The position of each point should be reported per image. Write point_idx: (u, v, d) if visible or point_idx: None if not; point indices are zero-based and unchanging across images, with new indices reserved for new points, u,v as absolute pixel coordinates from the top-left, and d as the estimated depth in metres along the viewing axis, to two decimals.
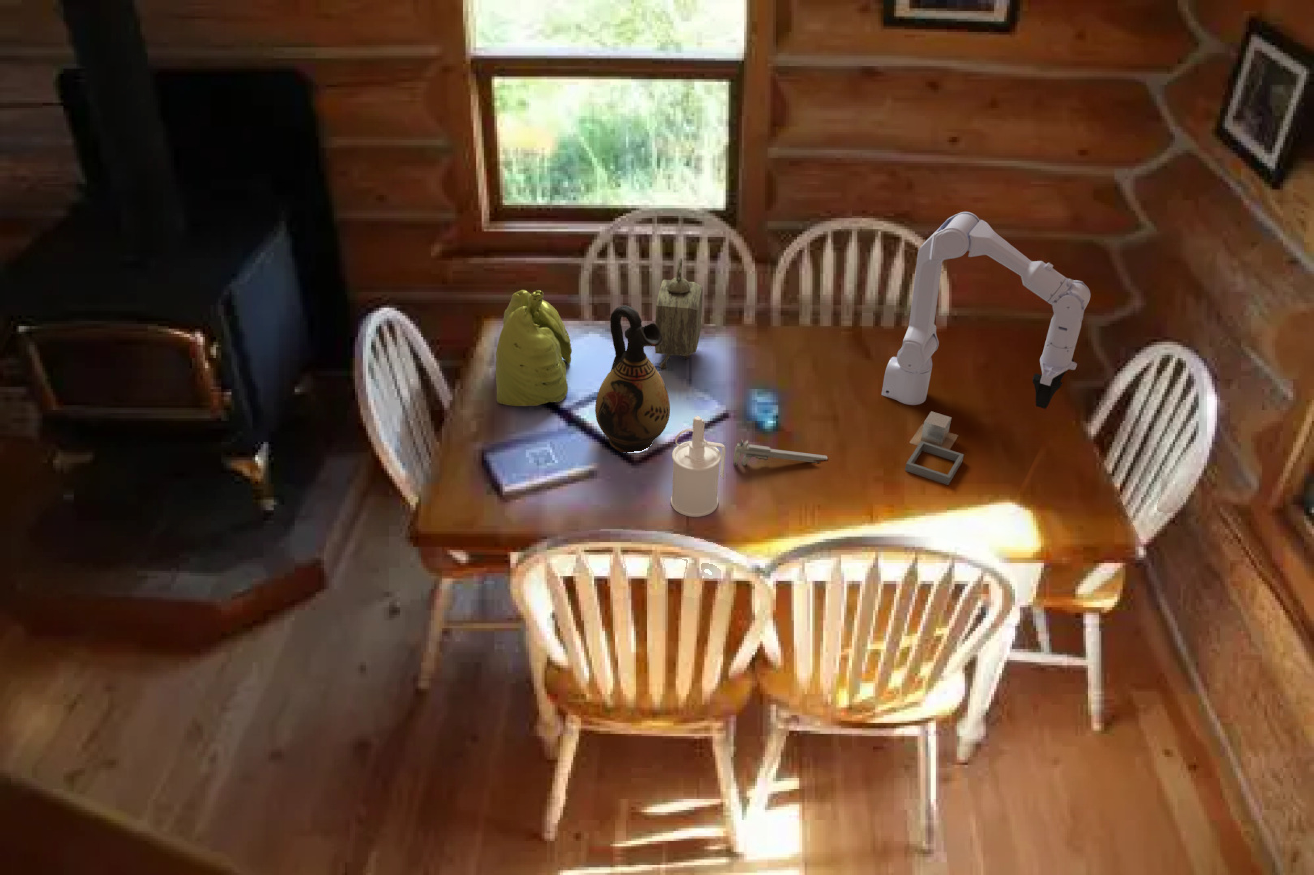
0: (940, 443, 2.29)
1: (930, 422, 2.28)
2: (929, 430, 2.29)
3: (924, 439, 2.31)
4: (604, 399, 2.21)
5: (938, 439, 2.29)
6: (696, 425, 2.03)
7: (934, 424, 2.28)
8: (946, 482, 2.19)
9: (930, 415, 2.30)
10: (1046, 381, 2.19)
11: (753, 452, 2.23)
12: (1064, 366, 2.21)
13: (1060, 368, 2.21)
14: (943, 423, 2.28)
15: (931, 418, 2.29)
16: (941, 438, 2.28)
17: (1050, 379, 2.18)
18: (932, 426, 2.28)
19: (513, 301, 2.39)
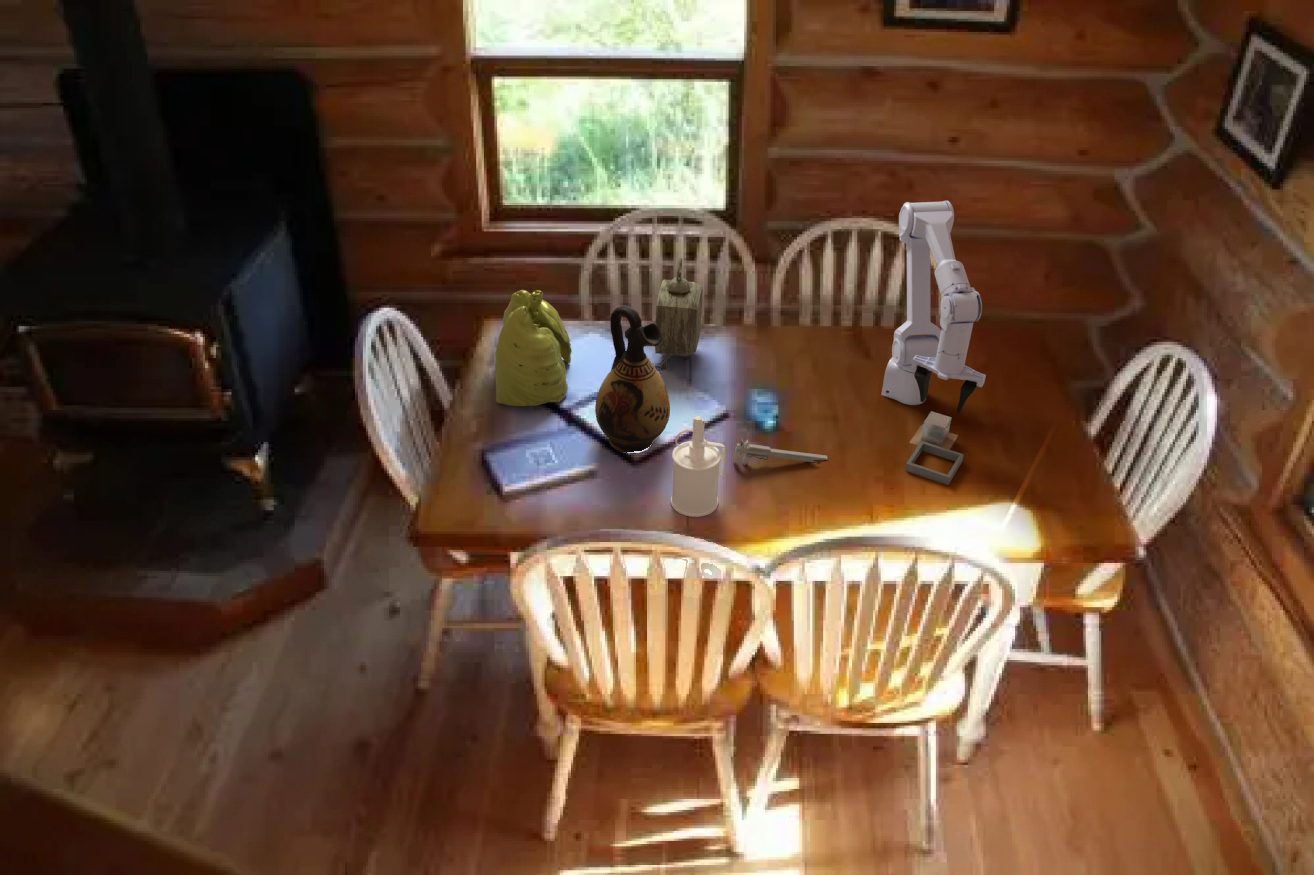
0: (940, 443, 2.29)
1: (930, 422, 2.28)
2: (929, 430, 2.29)
3: (924, 439, 2.31)
4: (604, 399, 2.21)
5: (938, 439, 2.29)
6: (696, 425, 2.03)
7: (934, 424, 2.28)
8: (946, 482, 2.19)
9: (930, 415, 2.30)
10: None
11: (753, 452, 2.23)
12: (936, 368, 2.21)
13: (933, 367, 2.22)
14: (943, 423, 2.28)
15: (931, 418, 2.29)
16: (941, 438, 2.28)
17: (912, 360, 2.24)
18: (932, 426, 2.28)
19: (513, 300, 2.39)
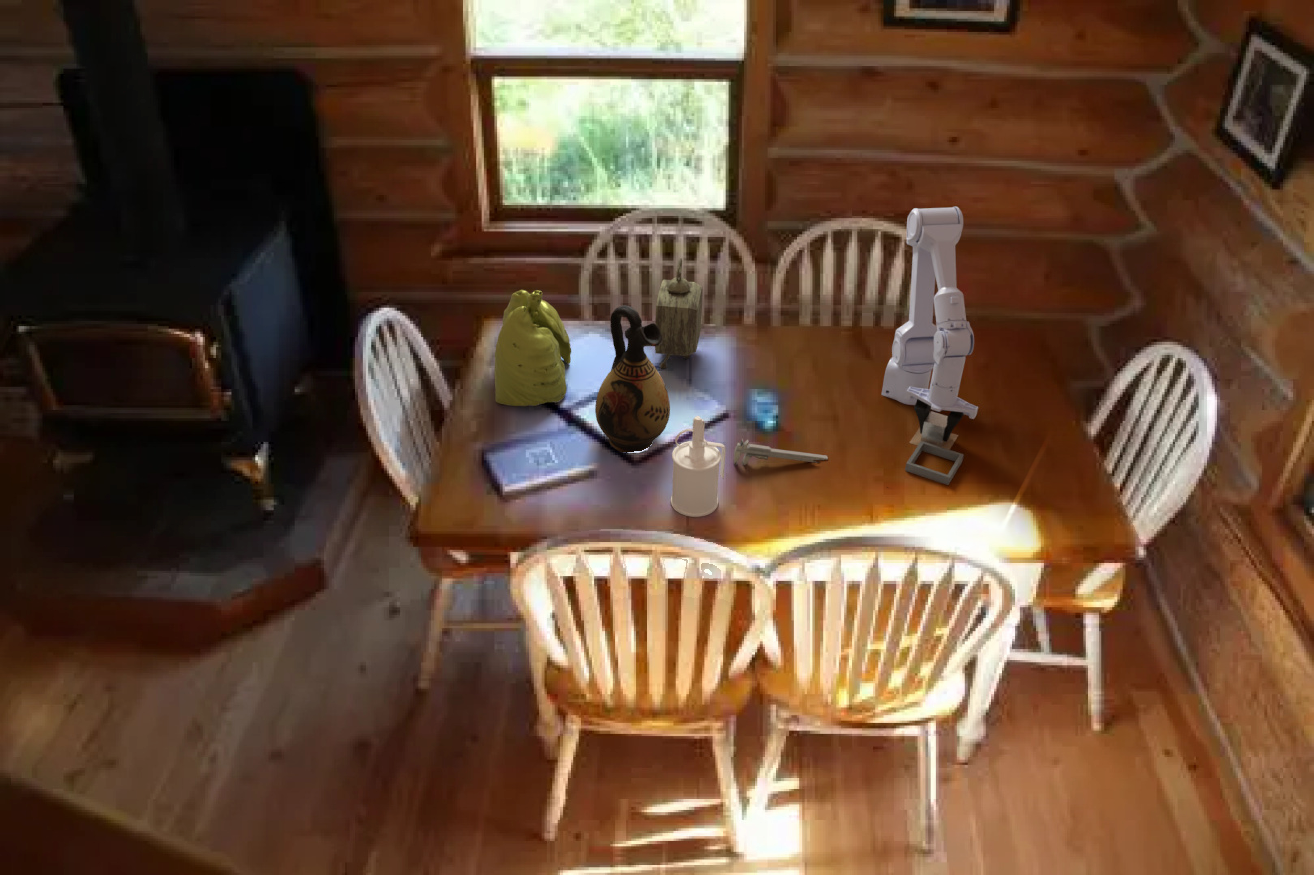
0: (940, 443, 2.29)
1: (930, 422, 2.28)
2: (929, 430, 2.29)
3: (924, 439, 2.31)
4: (604, 399, 2.21)
5: (938, 439, 2.29)
6: (696, 425, 2.03)
7: (934, 424, 2.28)
8: (946, 482, 2.19)
9: (930, 415, 2.30)
10: None
11: (753, 452, 2.23)
12: (929, 399, 2.25)
13: (927, 399, 2.26)
14: (943, 423, 2.28)
15: (931, 418, 2.29)
16: (941, 438, 2.28)
17: (906, 391, 2.29)
18: (932, 426, 2.28)
19: (512, 300, 2.39)
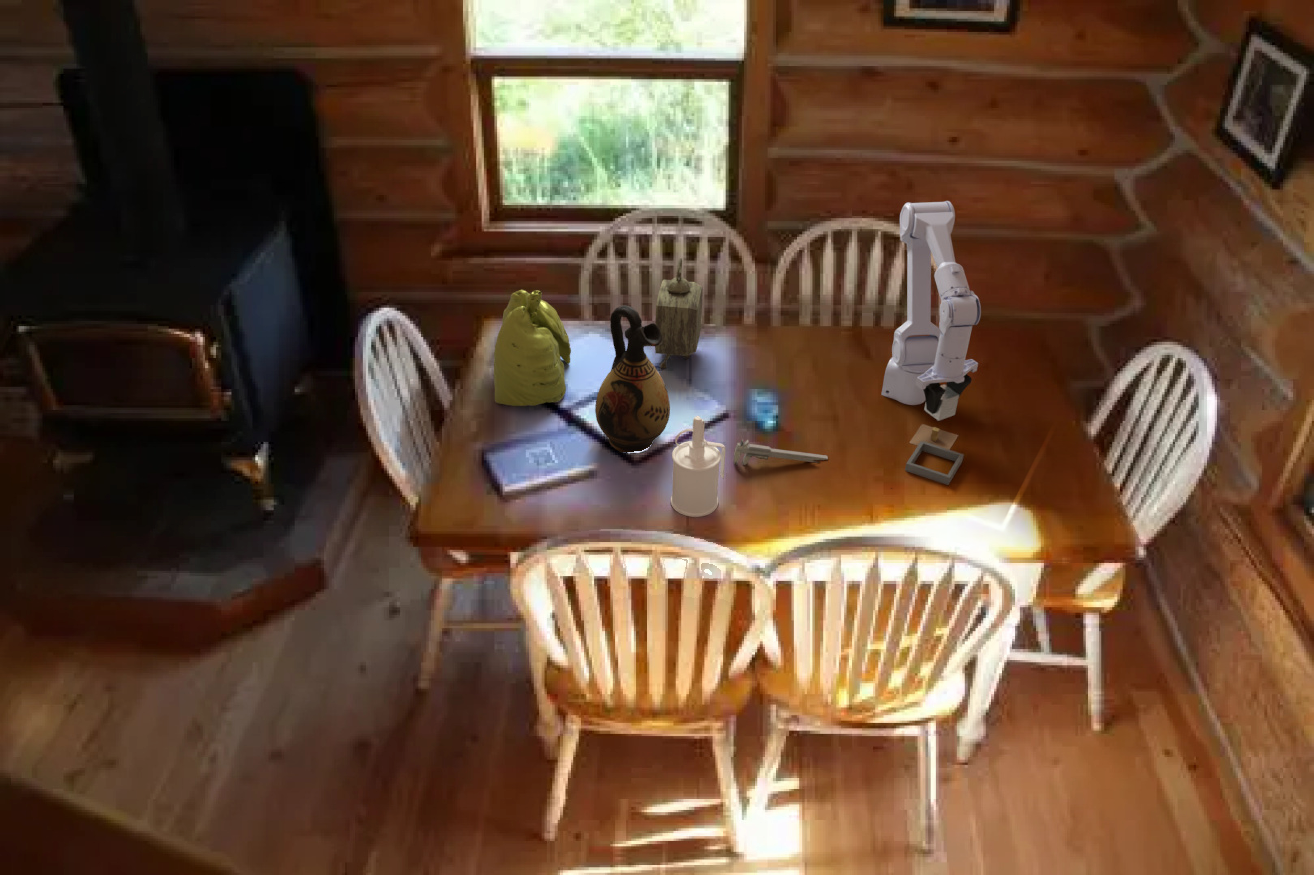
0: (954, 411, 2.27)
1: (946, 398, 2.23)
2: (946, 405, 2.24)
3: (941, 417, 2.26)
4: (604, 399, 2.21)
5: (953, 408, 2.26)
6: (696, 425, 2.03)
7: (950, 397, 2.24)
8: (946, 482, 2.19)
9: None
10: (919, 384, 2.20)
11: (753, 452, 2.23)
12: (947, 376, 2.20)
13: (943, 377, 2.20)
14: (951, 392, 2.25)
15: None
16: (955, 406, 2.26)
17: (922, 383, 2.19)
18: (949, 400, 2.24)
19: (512, 300, 2.39)
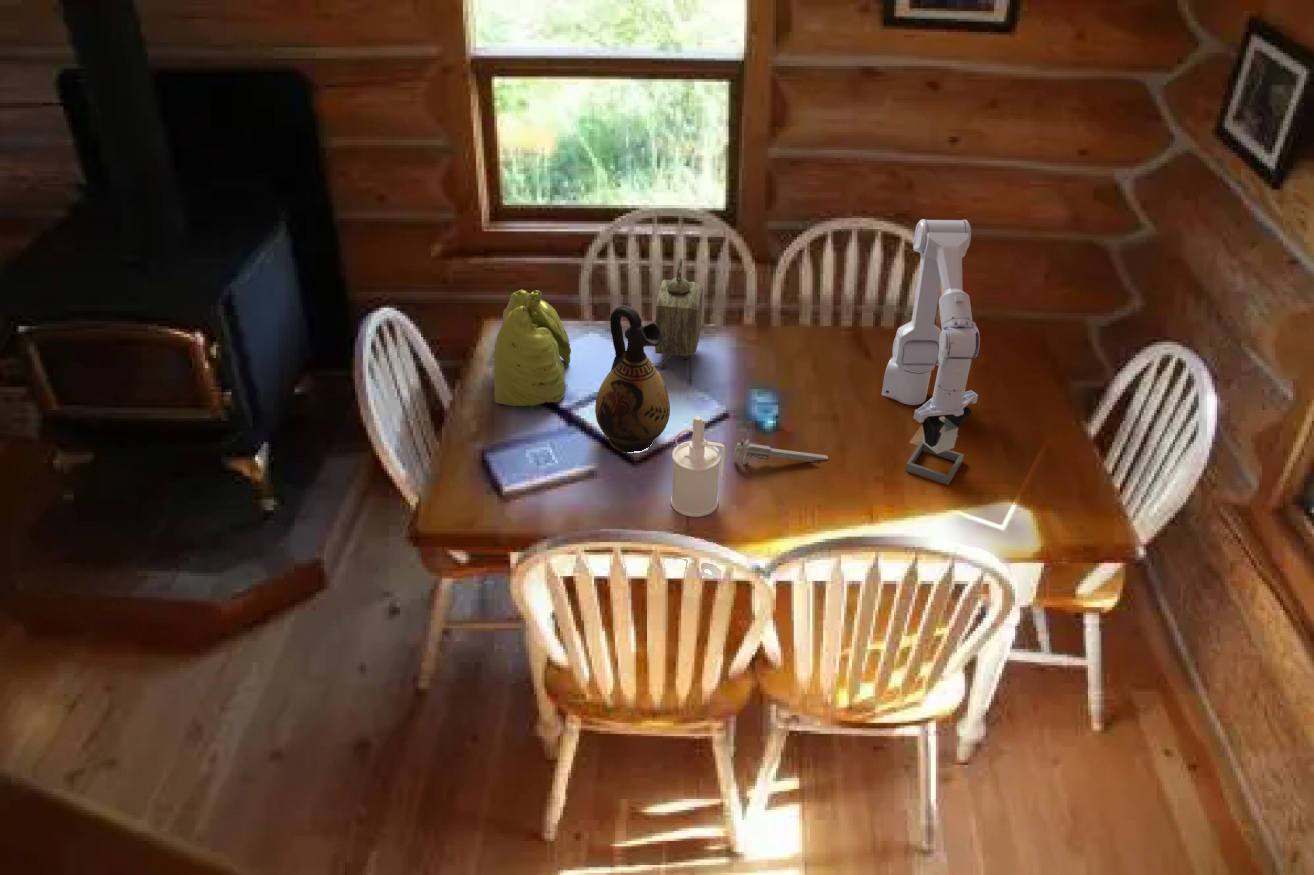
0: (953, 444, 2.20)
1: (944, 430, 2.17)
2: (945, 438, 2.18)
3: (940, 450, 2.19)
4: (604, 399, 2.21)
5: (952, 441, 2.19)
6: (696, 425, 2.03)
7: (949, 430, 2.17)
8: (946, 482, 2.19)
9: None
10: (917, 417, 2.13)
11: (753, 451, 2.23)
12: (946, 409, 2.13)
13: (941, 410, 2.13)
14: (950, 424, 2.19)
15: None
16: (955, 438, 2.19)
17: (920, 416, 2.12)
18: (948, 432, 2.17)
19: (512, 300, 2.39)
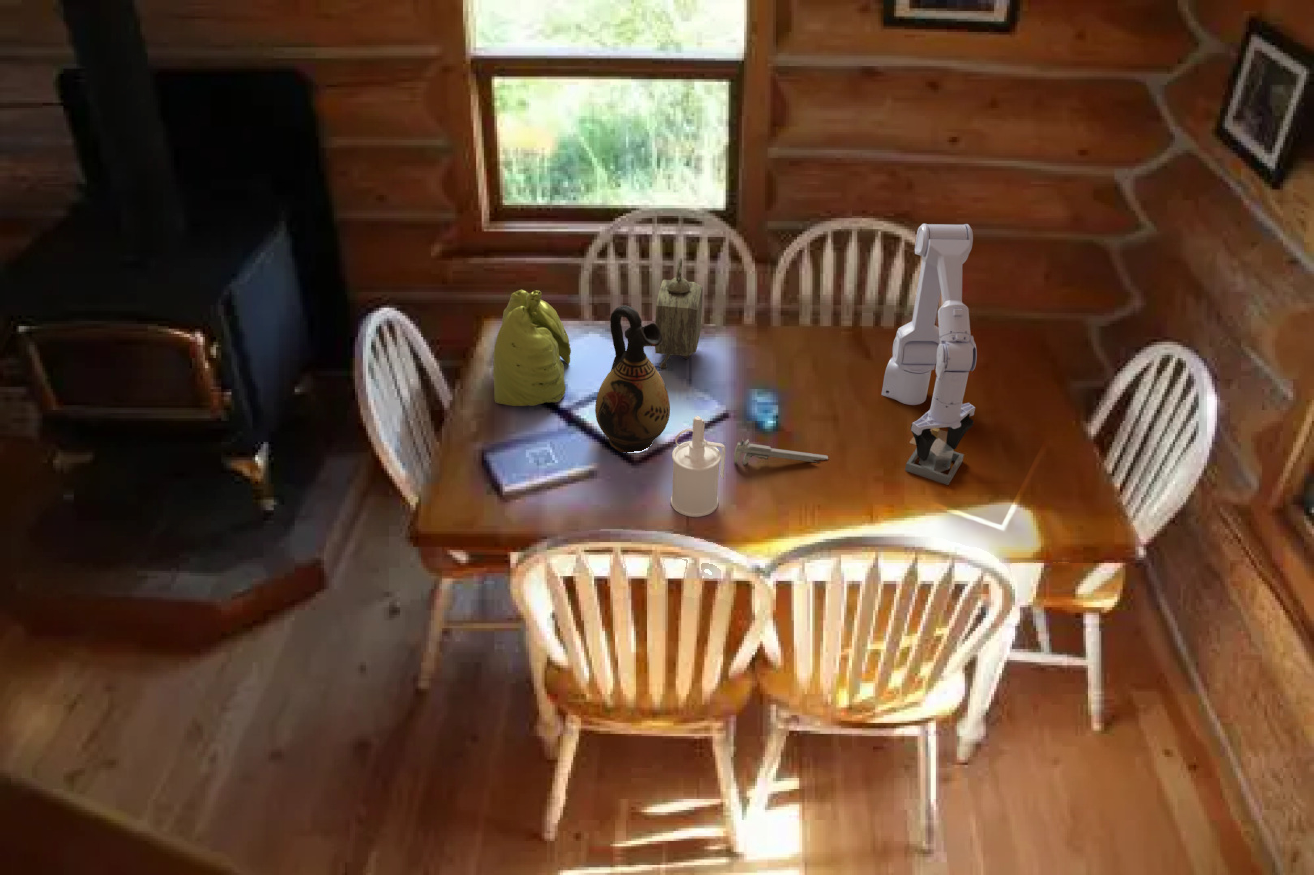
0: (949, 465, 2.23)
1: (940, 453, 2.20)
2: (940, 460, 2.21)
3: None
4: (604, 399, 2.21)
5: (947, 463, 2.23)
6: (696, 425, 2.03)
7: (944, 452, 2.20)
8: (946, 482, 2.19)
9: None
10: (915, 430, 2.15)
11: (754, 451, 2.23)
12: (944, 422, 2.15)
13: (939, 423, 2.15)
14: (946, 446, 2.22)
15: (934, 449, 2.21)
16: (950, 460, 2.23)
17: (918, 429, 2.14)
18: (943, 455, 2.20)
19: (512, 300, 2.39)
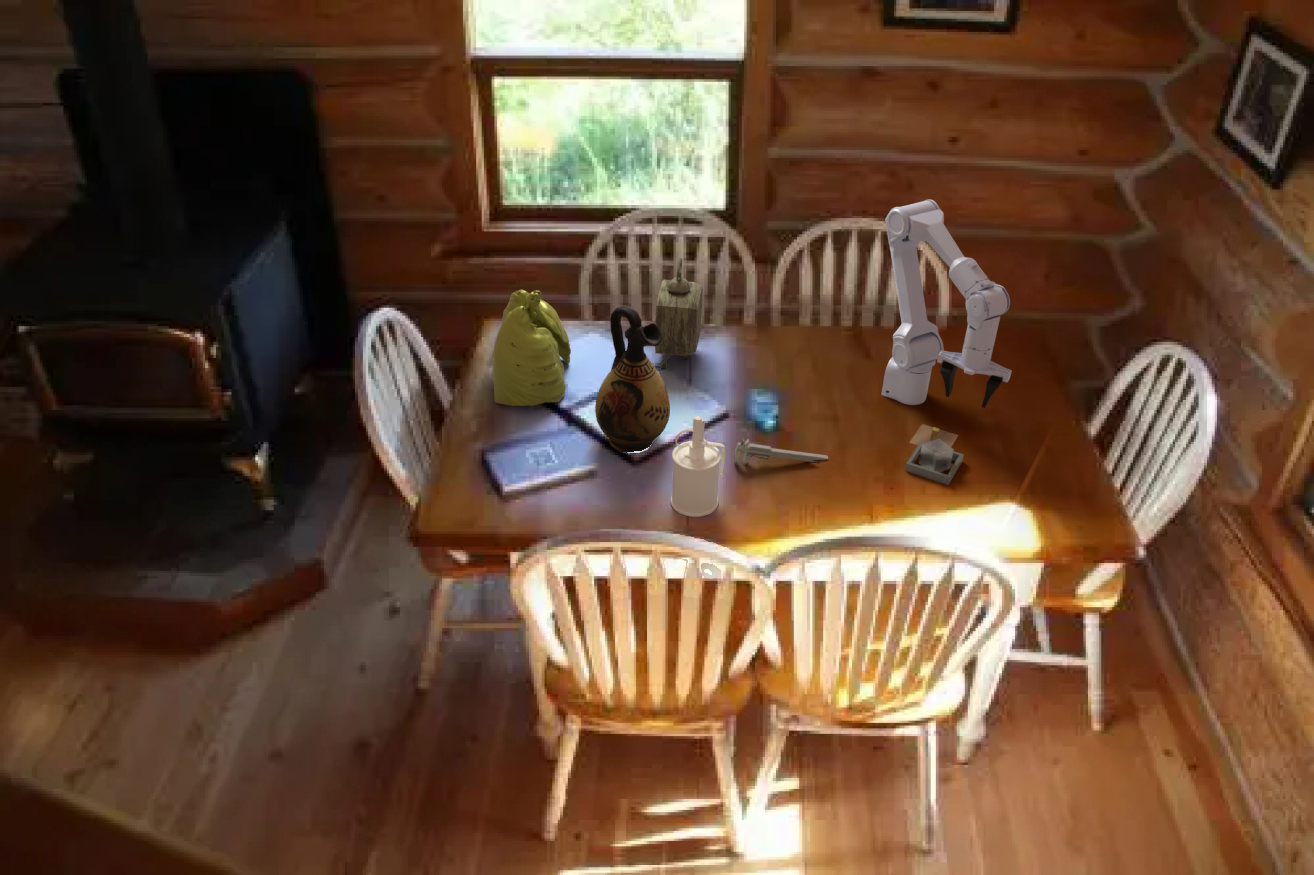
0: (949, 465, 2.23)
1: (940, 453, 2.20)
2: (940, 460, 2.21)
3: None
4: (604, 399, 2.21)
5: (947, 463, 2.23)
6: (696, 425, 2.03)
7: (944, 452, 2.20)
8: (946, 482, 2.19)
9: (928, 447, 2.21)
10: None
11: (754, 451, 2.23)
12: (962, 363, 2.23)
13: (959, 362, 2.23)
14: (946, 446, 2.22)
15: (934, 449, 2.21)
16: (950, 460, 2.23)
17: None
18: (943, 455, 2.20)
19: (512, 300, 2.39)
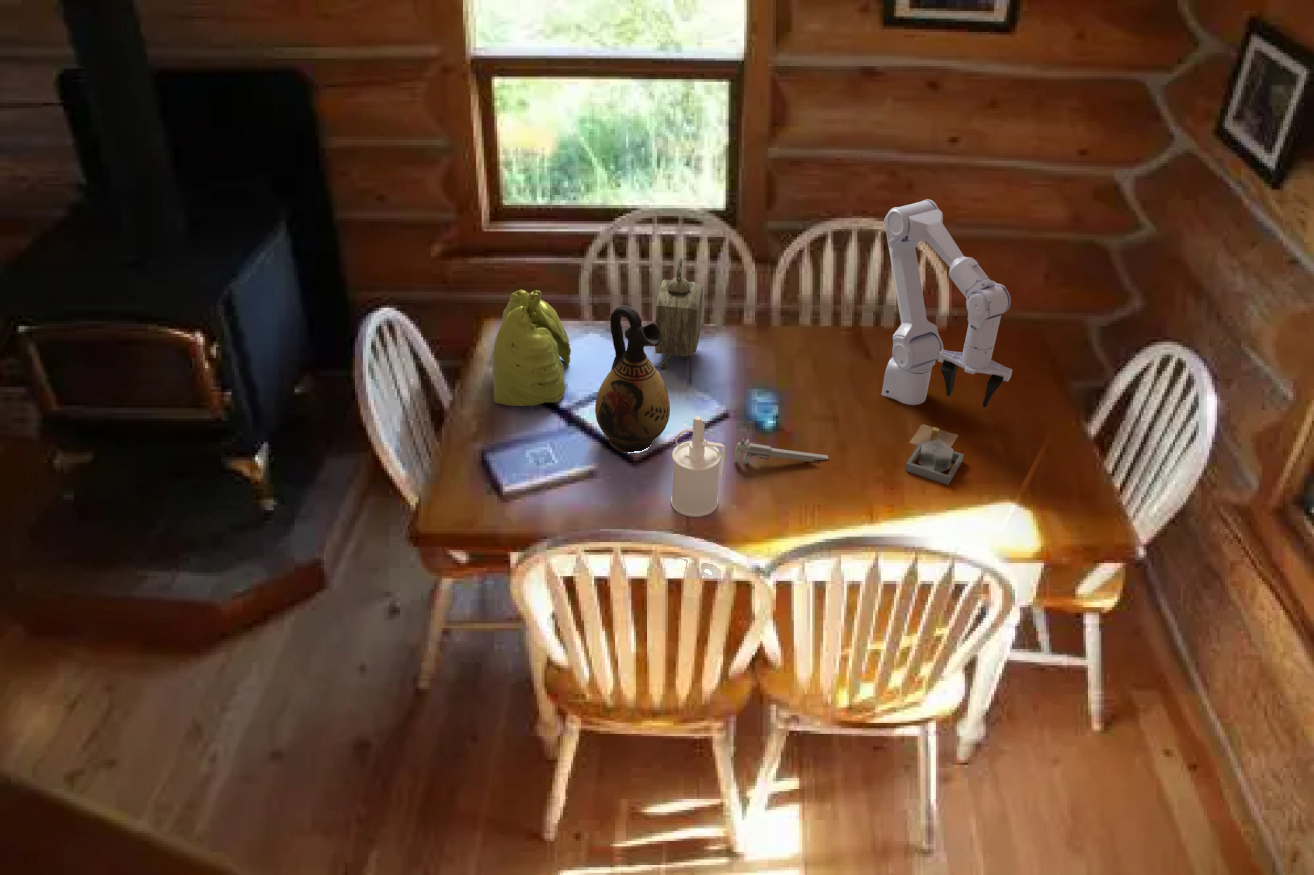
0: (949, 465, 2.23)
1: (940, 453, 2.20)
2: (940, 460, 2.21)
3: None
4: (604, 399, 2.21)
5: (947, 463, 2.23)
6: (696, 425, 2.03)
7: (944, 452, 2.20)
8: (946, 482, 2.19)
9: (928, 447, 2.21)
10: None
11: (754, 451, 2.23)
12: (963, 362, 2.23)
13: (960, 361, 2.24)
14: (946, 446, 2.22)
15: (934, 449, 2.21)
16: (950, 460, 2.23)
17: (939, 355, 2.26)
18: (943, 455, 2.20)
19: (512, 300, 2.39)
